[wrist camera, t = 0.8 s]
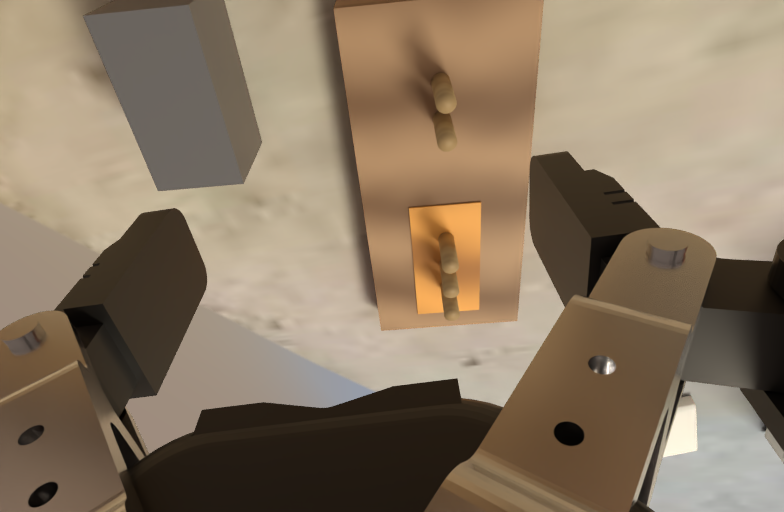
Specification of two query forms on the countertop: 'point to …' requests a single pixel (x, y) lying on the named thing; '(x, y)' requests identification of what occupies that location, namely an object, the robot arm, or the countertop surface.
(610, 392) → the robot arm
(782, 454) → the tea box
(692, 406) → the external hard drive
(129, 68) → the block
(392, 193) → the board
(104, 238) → the countertop surface
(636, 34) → the countertop surface
